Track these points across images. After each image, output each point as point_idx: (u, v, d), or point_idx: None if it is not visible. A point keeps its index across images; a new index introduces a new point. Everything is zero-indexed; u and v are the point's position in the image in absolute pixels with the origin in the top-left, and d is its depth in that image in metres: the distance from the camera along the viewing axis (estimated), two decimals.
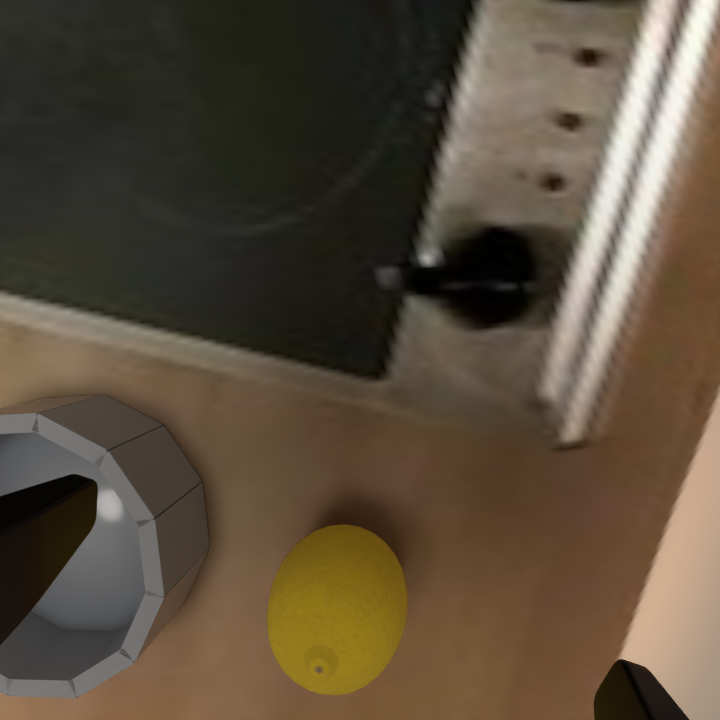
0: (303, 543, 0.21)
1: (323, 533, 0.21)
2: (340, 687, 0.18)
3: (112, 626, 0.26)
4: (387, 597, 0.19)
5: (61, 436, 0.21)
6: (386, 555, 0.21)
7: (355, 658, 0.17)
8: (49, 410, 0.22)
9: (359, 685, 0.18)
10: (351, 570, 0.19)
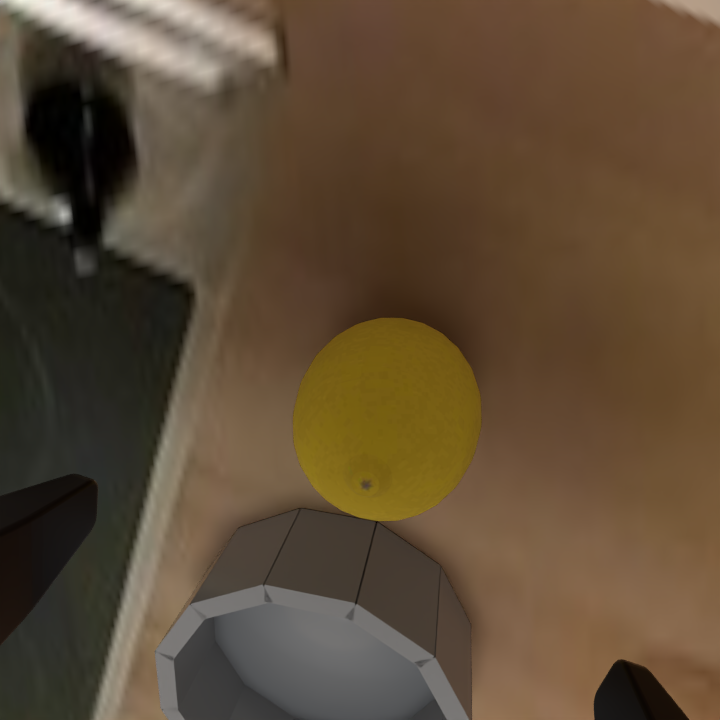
0: None
1: None
2: (422, 458, 0.12)
3: None
4: (342, 359, 0.14)
5: (177, 639, 0.20)
6: (333, 339, 0.15)
7: (374, 430, 0.12)
8: (164, 637, 0.21)
9: (434, 430, 0.12)
10: (300, 396, 0.14)
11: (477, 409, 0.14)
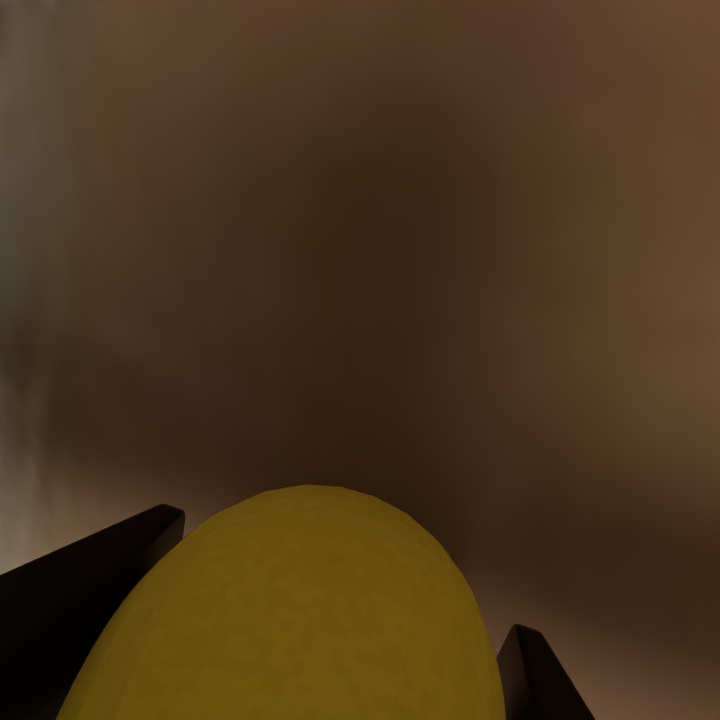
0: None
1: None
2: None
3: None
4: (120, 709, 0.05)
5: None
6: (160, 565, 0.07)
7: None
8: None
9: None
10: None
11: None
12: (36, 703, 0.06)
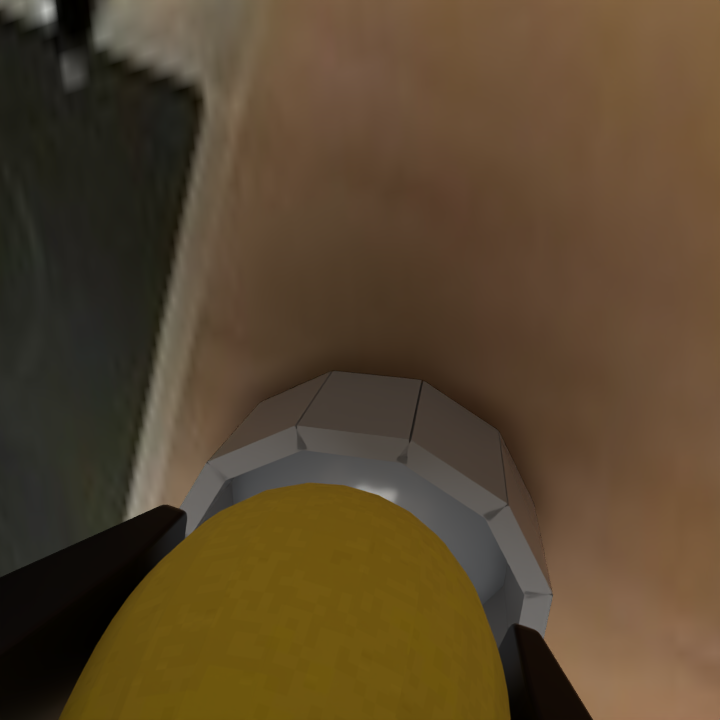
0: None
1: None
2: None
3: None
4: (125, 707, 0.05)
5: (192, 511, 0.17)
6: (164, 563, 0.07)
7: None
8: None
9: None
10: None
11: None
12: (39, 705, 0.06)
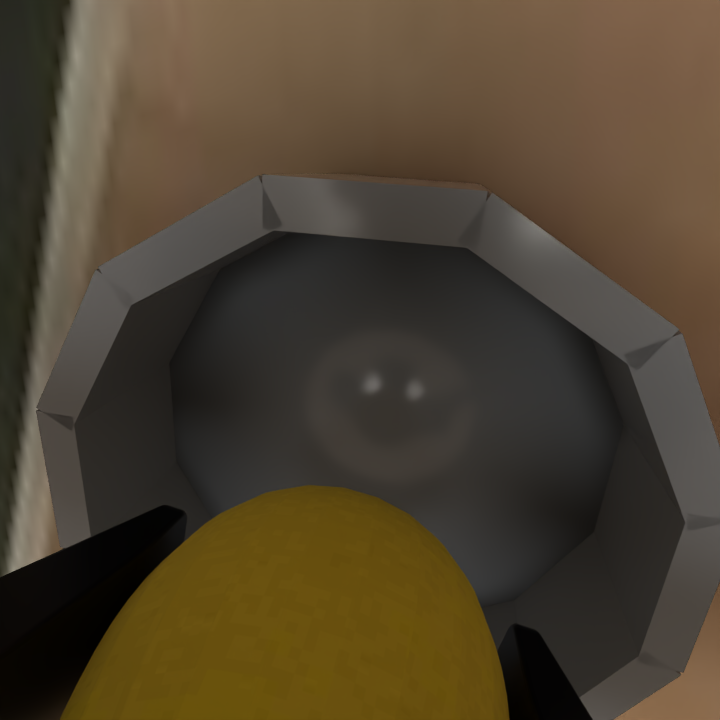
0: None
1: None
2: None
3: (610, 433, 0.12)
4: (125, 711, 0.05)
5: (77, 370, 0.10)
6: (164, 566, 0.07)
7: None
8: None
9: None
10: None
11: None
12: (39, 704, 0.06)
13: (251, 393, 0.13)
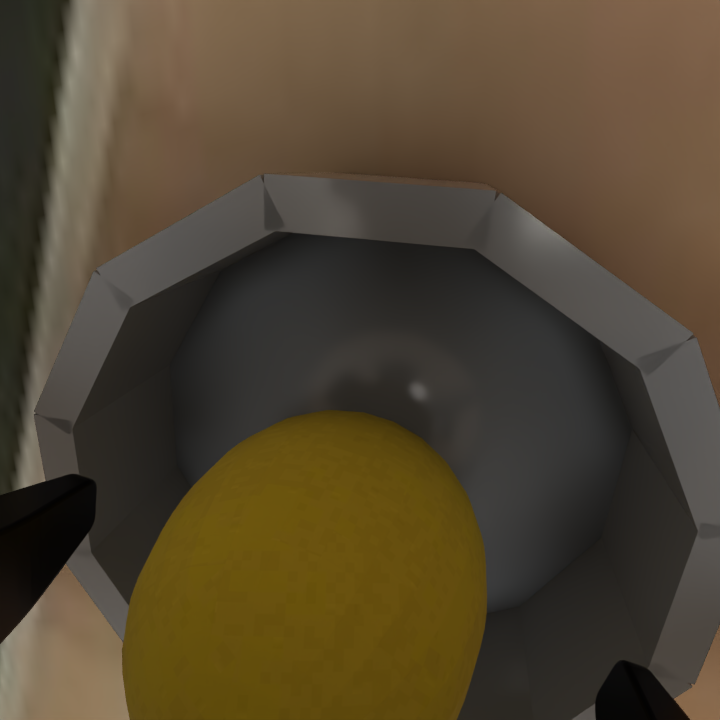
0: None
1: None
2: None
3: (619, 438, 0.11)
4: (211, 507, 0.07)
5: (75, 374, 0.09)
6: (232, 448, 0.09)
7: (231, 696, 0.06)
8: None
9: (367, 695, 0.06)
10: None
11: (474, 609, 0.07)
12: None
13: (253, 396, 0.13)
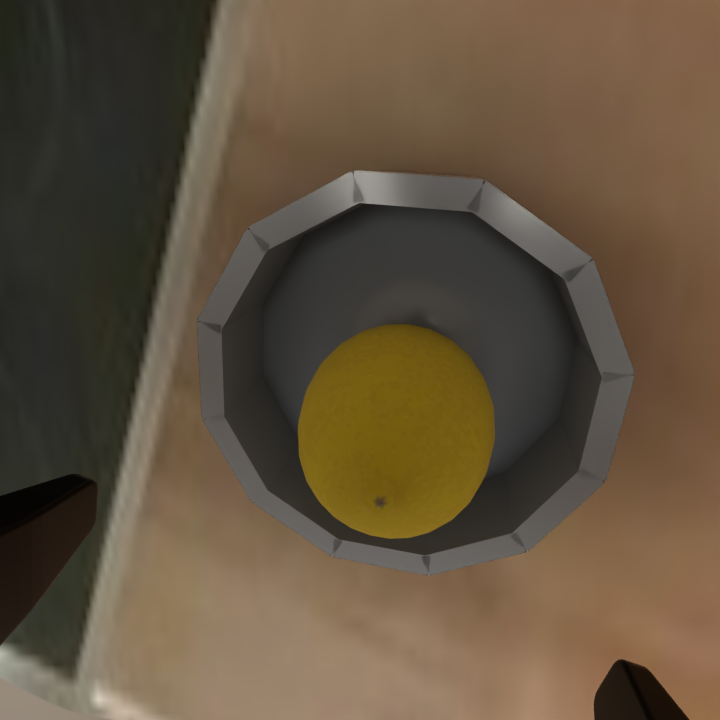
0: None
1: None
2: (439, 471, 0.12)
3: (568, 345, 0.17)
4: (350, 368, 0.13)
5: (227, 293, 0.15)
6: (338, 347, 0.15)
7: (387, 443, 0.11)
8: None
9: (450, 441, 0.12)
10: (306, 409, 0.13)
11: (491, 418, 0.14)
12: None
13: (321, 323, 0.19)
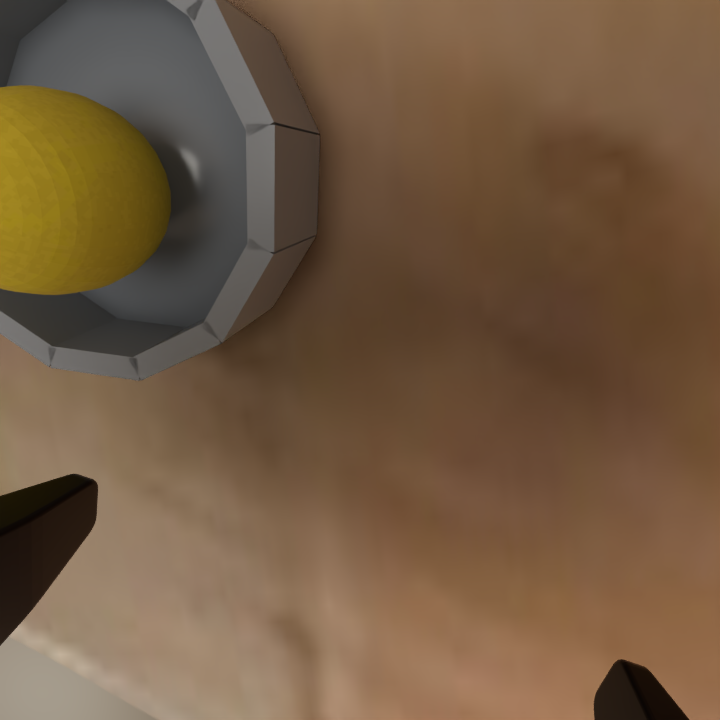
0: None
1: None
2: None
3: None
4: None
5: None
6: None
7: None
8: None
9: (14, 154, 0.12)
10: None
11: (115, 166, 0.13)
12: None
13: None
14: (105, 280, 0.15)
